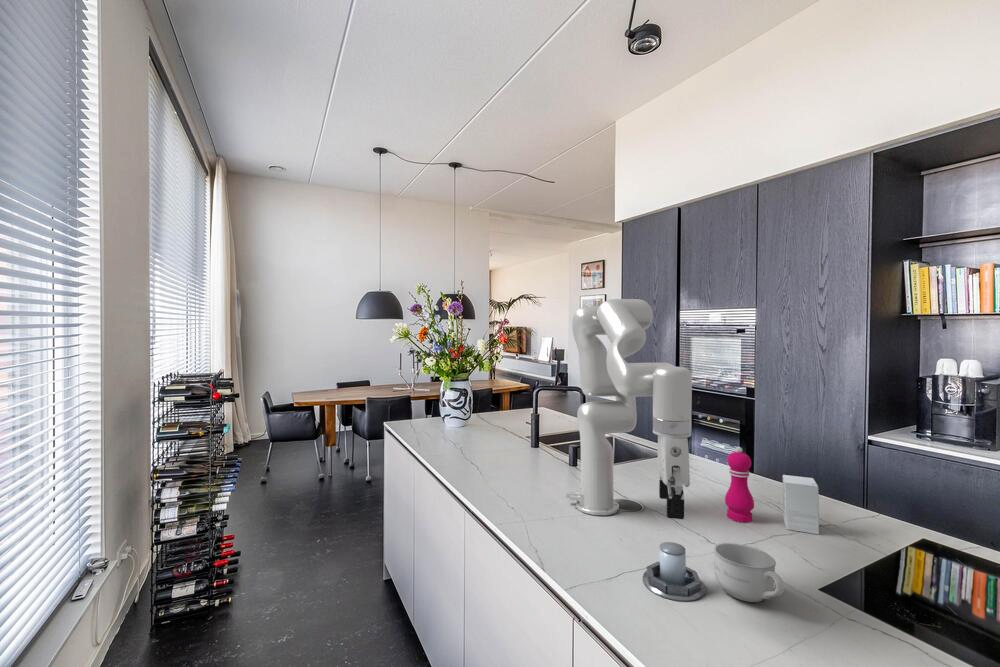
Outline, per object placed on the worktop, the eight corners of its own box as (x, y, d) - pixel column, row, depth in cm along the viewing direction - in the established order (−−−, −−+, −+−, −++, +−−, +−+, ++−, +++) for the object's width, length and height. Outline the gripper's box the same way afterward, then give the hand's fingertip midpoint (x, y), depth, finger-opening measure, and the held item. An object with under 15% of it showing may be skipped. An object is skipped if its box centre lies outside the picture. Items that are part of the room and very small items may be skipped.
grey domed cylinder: (688, 589, 89) (687, 554, 89) (661, 586, 90) (661, 552, 90) (683, 576, 93) (683, 543, 93) (658, 573, 95) (658, 541, 95)
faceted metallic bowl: (646, 597, 87) (646, 587, 87) (639, 566, 98) (639, 557, 98) (711, 604, 84) (711, 594, 84) (697, 571, 96) (697, 562, 96)
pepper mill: (758, 524, 119) (757, 450, 119) (729, 522, 121) (729, 449, 121) (749, 513, 126) (748, 444, 126) (721, 512, 128) (721, 443, 128)
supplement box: (814, 524, 119) (814, 477, 119) (819, 535, 113) (819, 486, 113) (782, 519, 123) (782, 473, 123) (785, 529, 116) (784, 481, 116)
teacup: (703, 579, 93) (703, 541, 93) (752, 576, 94) (752, 539, 94) (745, 622, 79) (745, 578, 79) (802, 618, 80) (802, 574, 80)
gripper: (701, 438, 82) (700, 528, 83) (682, 418, 99) (681, 493, 100) (658, 436, 84) (658, 524, 84) (647, 416, 101) (647, 490, 101)
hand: (671, 507), depth 92 cm, fingers open, 9 cm apart
